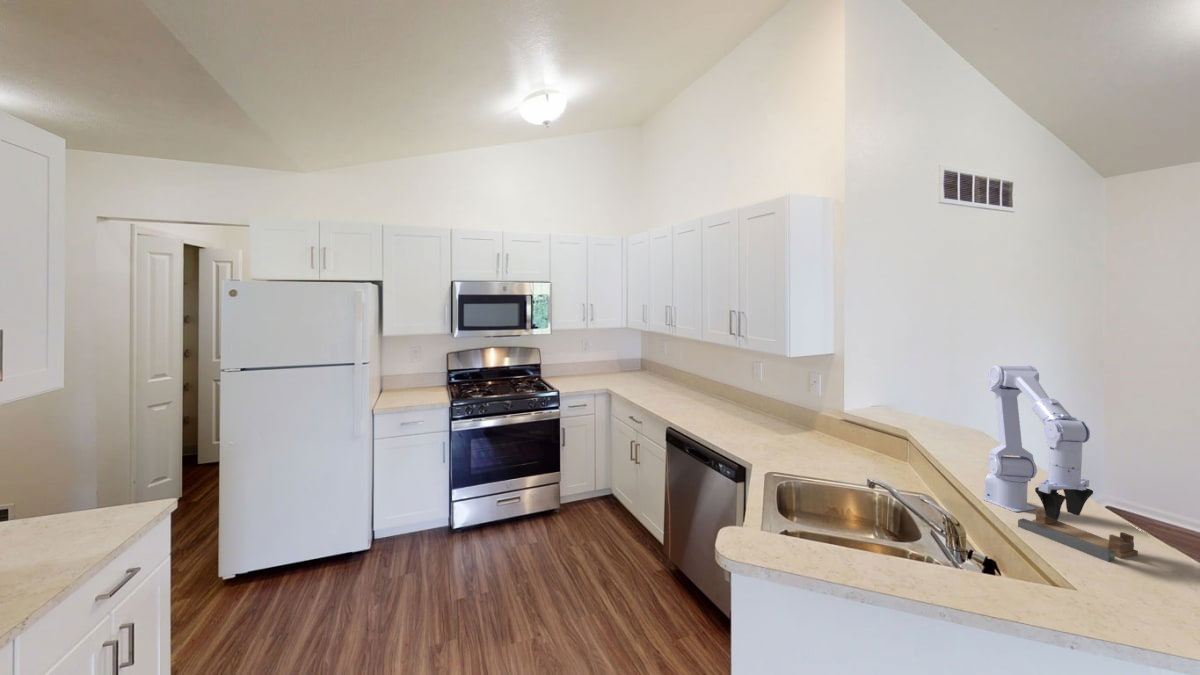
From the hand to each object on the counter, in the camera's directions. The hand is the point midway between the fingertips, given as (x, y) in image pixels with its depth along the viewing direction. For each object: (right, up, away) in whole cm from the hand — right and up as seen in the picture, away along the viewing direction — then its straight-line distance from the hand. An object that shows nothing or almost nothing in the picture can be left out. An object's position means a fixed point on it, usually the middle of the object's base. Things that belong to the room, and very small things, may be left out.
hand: (1062, 515), depth 112 cm
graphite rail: (0, -8, 0) cm, 8 cm away
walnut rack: (+7, -7, +2) cm, 10 cm away
